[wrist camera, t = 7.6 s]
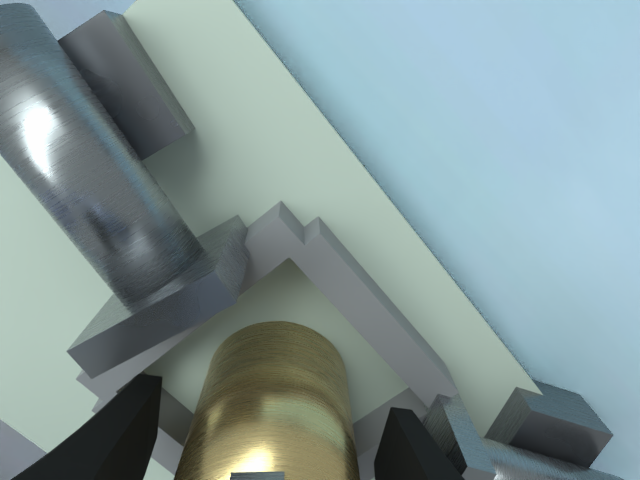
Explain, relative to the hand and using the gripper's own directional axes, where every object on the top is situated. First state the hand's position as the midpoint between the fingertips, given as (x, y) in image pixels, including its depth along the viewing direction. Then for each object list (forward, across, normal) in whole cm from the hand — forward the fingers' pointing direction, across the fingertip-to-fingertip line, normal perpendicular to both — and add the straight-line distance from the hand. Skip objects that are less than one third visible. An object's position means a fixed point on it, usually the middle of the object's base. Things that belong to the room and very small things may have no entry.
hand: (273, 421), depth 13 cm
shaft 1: (+3, +5, -6) cm, 8 cm away
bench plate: (+3, +1, +1) cm, 3 cm away
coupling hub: (+2, 0, 0) cm, 2 cm away
